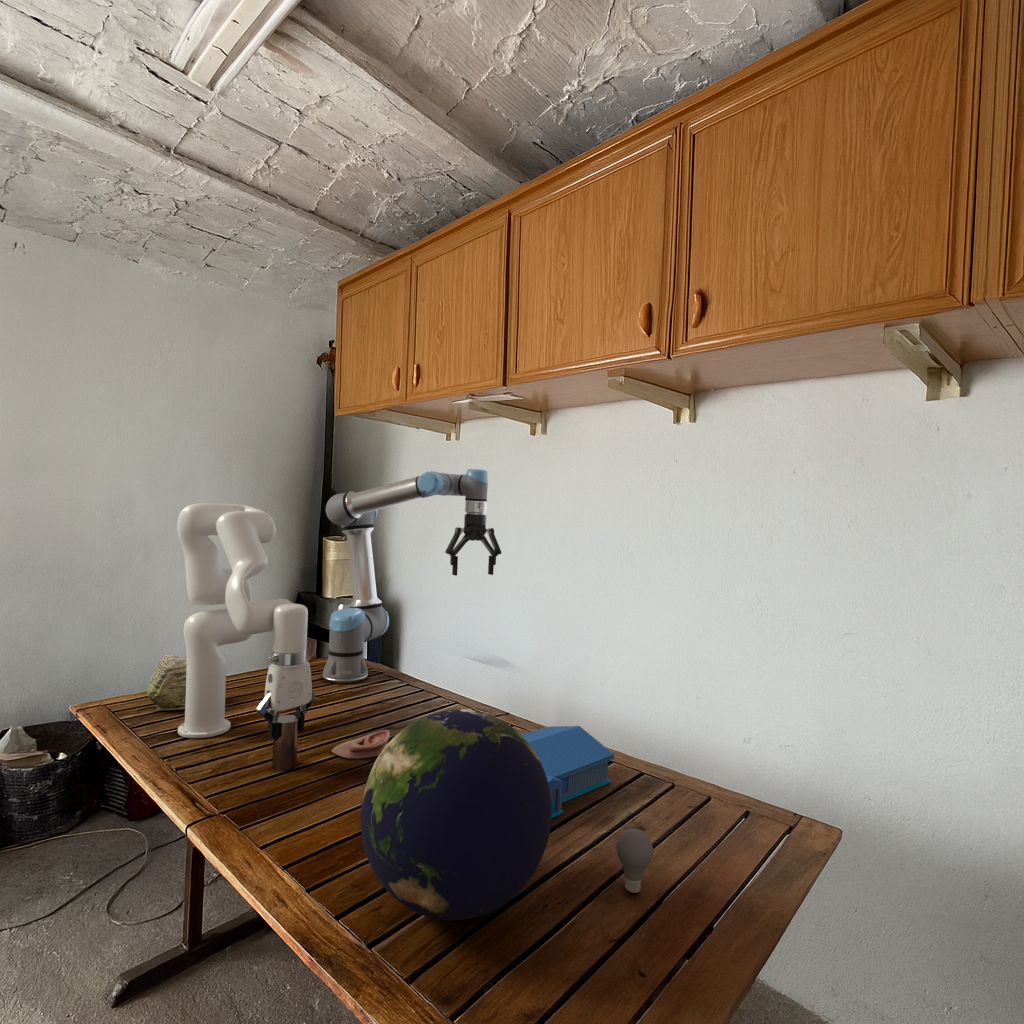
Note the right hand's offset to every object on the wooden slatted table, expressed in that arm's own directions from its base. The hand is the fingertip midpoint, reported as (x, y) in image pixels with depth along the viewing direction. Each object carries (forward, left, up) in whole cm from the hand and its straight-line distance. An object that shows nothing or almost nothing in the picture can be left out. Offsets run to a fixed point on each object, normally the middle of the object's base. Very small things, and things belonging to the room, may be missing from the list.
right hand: (472, 574), depth 220 cm
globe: (+110, -49, -38) cm, 126 cm away
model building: (+80, -21, -38) cm, 91 cm away
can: (+48, -67, -38) cm, 90 cm away
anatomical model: (+45, -48, -38) cm, 76 cm away
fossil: (-5, -88, -38) cm, 96 cm away
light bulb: (+119, -21, -38) cm, 126 cm away
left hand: (+48, -67, -30) cm, 87 cm away
